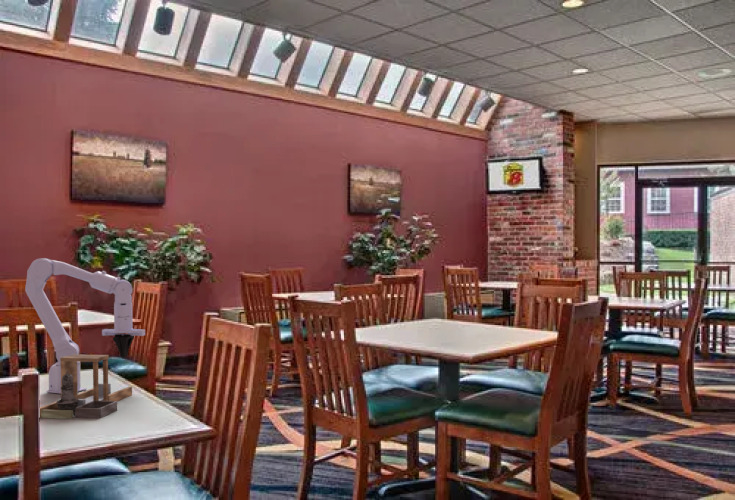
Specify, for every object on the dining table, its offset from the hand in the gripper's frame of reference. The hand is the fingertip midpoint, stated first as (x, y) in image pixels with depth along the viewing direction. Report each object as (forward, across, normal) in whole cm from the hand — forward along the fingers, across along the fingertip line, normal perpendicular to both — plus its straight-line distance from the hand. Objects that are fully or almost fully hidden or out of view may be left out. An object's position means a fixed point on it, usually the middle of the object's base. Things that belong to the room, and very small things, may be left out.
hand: (123, 357), depth 219 cm
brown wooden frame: (+10, +6, -26) cm, 28 cm away
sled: (+10, +3, -25) cm, 27 cm away
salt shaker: (+10, +3, -35) cm, 37 cm away
